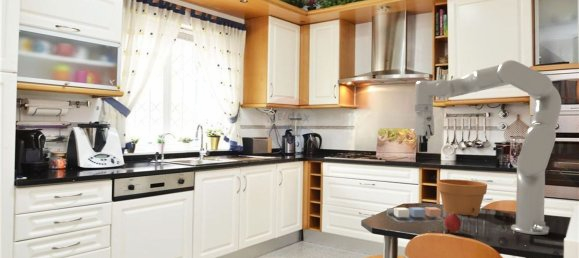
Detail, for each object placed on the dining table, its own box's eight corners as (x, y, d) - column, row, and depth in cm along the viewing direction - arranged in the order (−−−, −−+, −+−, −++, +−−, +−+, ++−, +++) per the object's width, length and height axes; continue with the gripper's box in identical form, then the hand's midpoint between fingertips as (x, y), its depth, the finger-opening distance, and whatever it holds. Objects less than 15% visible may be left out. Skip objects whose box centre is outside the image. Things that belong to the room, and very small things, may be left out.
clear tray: (449, 224, 176) (449, 213, 176) (398, 225, 173) (398, 214, 173) (434, 217, 189) (434, 207, 189) (386, 218, 186) (386, 208, 186)
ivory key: (409, 217, 178) (409, 209, 178) (398, 217, 178) (398, 209, 178) (404, 214, 183) (404, 207, 183) (393, 214, 182) (394, 207, 182)
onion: (447, 230, 166) (448, 209, 166) (462, 232, 163) (463, 211, 163) (442, 232, 162) (442, 211, 162) (457, 235, 158) (458, 214, 158)
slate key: (425, 216, 179) (425, 209, 179) (414, 216, 179) (414, 209, 179) (420, 214, 184) (420, 207, 184) (409, 214, 183) (409, 207, 183)
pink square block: (440, 216, 180) (441, 209, 180) (430, 216, 180) (430, 209, 180) (435, 214, 185) (435, 207, 185) (424, 214, 184) (425, 207, 184)
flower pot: (477, 210, 206) (478, 179, 206) (493, 220, 186) (494, 185, 185) (432, 208, 209) (432, 178, 208) (443, 218, 188) (444, 184, 187)
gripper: (440, 109, 178) (439, 153, 179) (424, 110, 193) (423, 150, 193) (423, 108, 177) (422, 153, 178) (408, 109, 192) (407, 150, 192)
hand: (423, 151), depth 185 cm, fingers closed
